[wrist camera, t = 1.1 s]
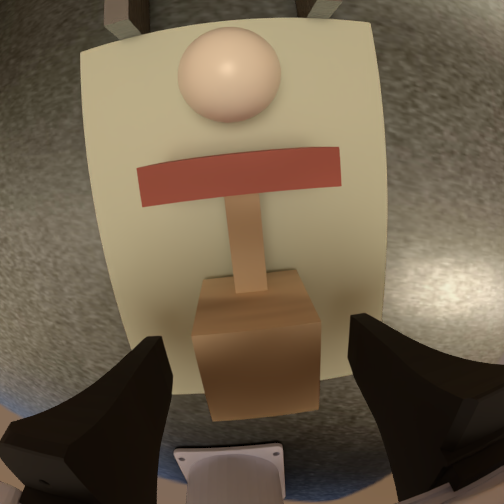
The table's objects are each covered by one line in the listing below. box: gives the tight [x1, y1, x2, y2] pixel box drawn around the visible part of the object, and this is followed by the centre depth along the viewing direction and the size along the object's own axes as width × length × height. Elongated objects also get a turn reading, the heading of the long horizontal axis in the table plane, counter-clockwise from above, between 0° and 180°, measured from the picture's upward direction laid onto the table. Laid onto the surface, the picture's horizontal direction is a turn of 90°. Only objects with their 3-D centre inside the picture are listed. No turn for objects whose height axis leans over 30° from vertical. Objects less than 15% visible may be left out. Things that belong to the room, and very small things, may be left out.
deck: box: [80, 18, 387, 394], centre depth 14 cm, size 18×13×2 cm
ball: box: [178, 27, 281, 123], centre depth 10 cm, size 4×4×4 cm
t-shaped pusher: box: [136, 147, 342, 421], centre depth 11 cm, size 9×6×4 cm, turn 5°
